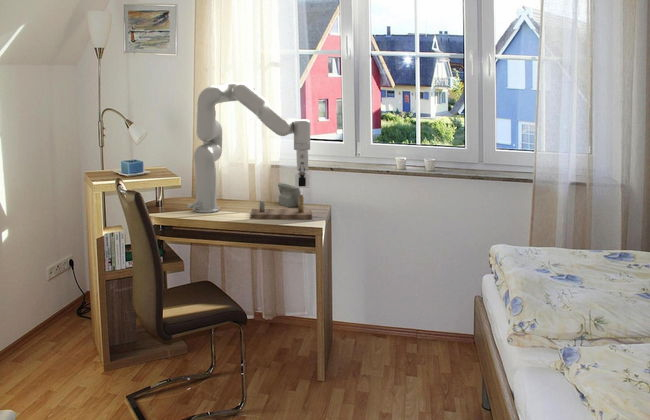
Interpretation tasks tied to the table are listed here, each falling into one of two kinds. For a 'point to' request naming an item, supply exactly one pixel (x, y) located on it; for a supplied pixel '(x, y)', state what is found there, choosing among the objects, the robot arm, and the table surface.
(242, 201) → the table surface
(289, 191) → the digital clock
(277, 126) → the robot arm
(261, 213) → the board
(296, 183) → the white cube
